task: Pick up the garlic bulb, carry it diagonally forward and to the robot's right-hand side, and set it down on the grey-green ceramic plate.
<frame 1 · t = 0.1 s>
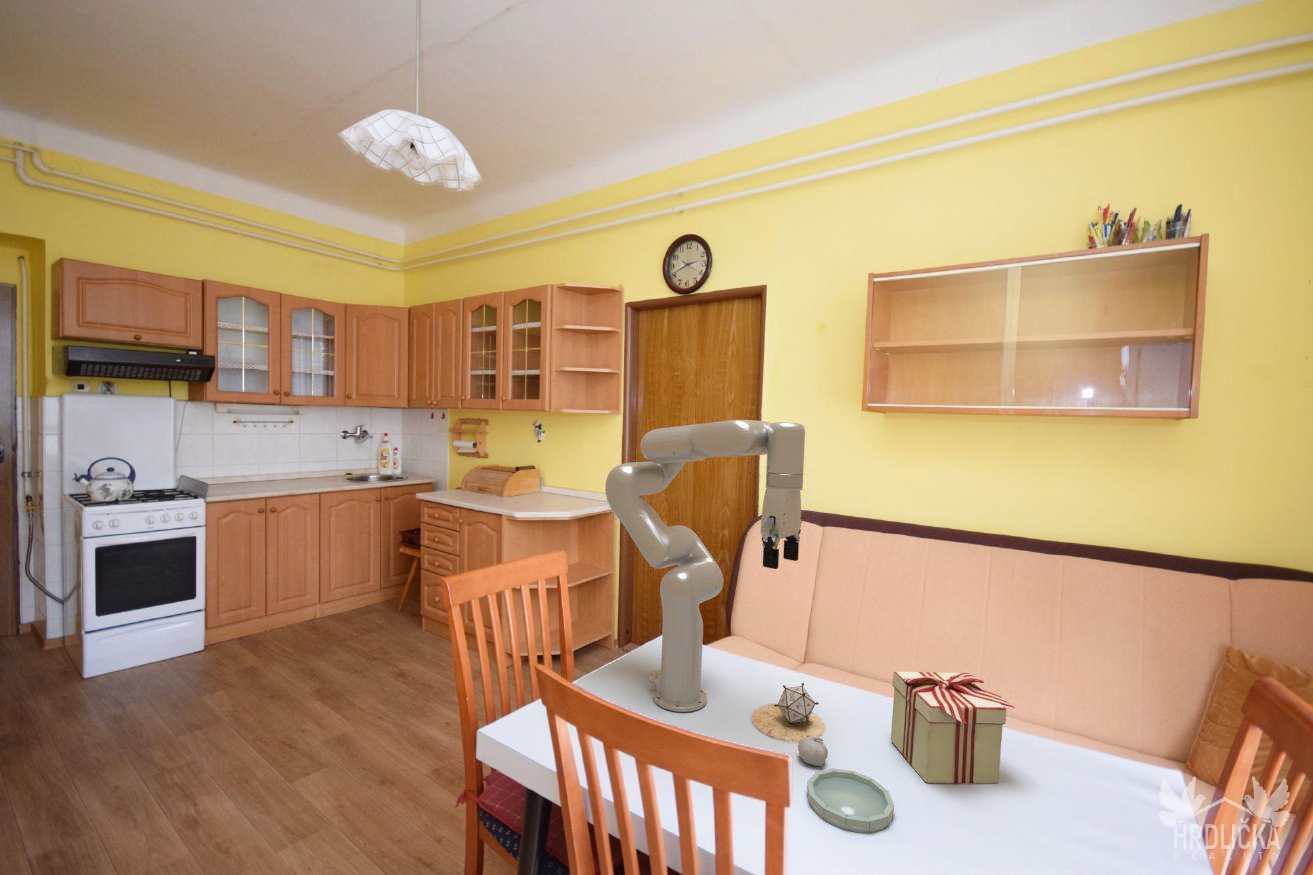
hand: (780, 563, 120), 37 cm above the table, tool pointing down, fingers open, 9 cm apart
game die: (795, 723, 128), on the table
garlic: (812, 762, 113), on the table
gift box: (949, 766, 113), on the table
plate: (849, 804, 100), on the table
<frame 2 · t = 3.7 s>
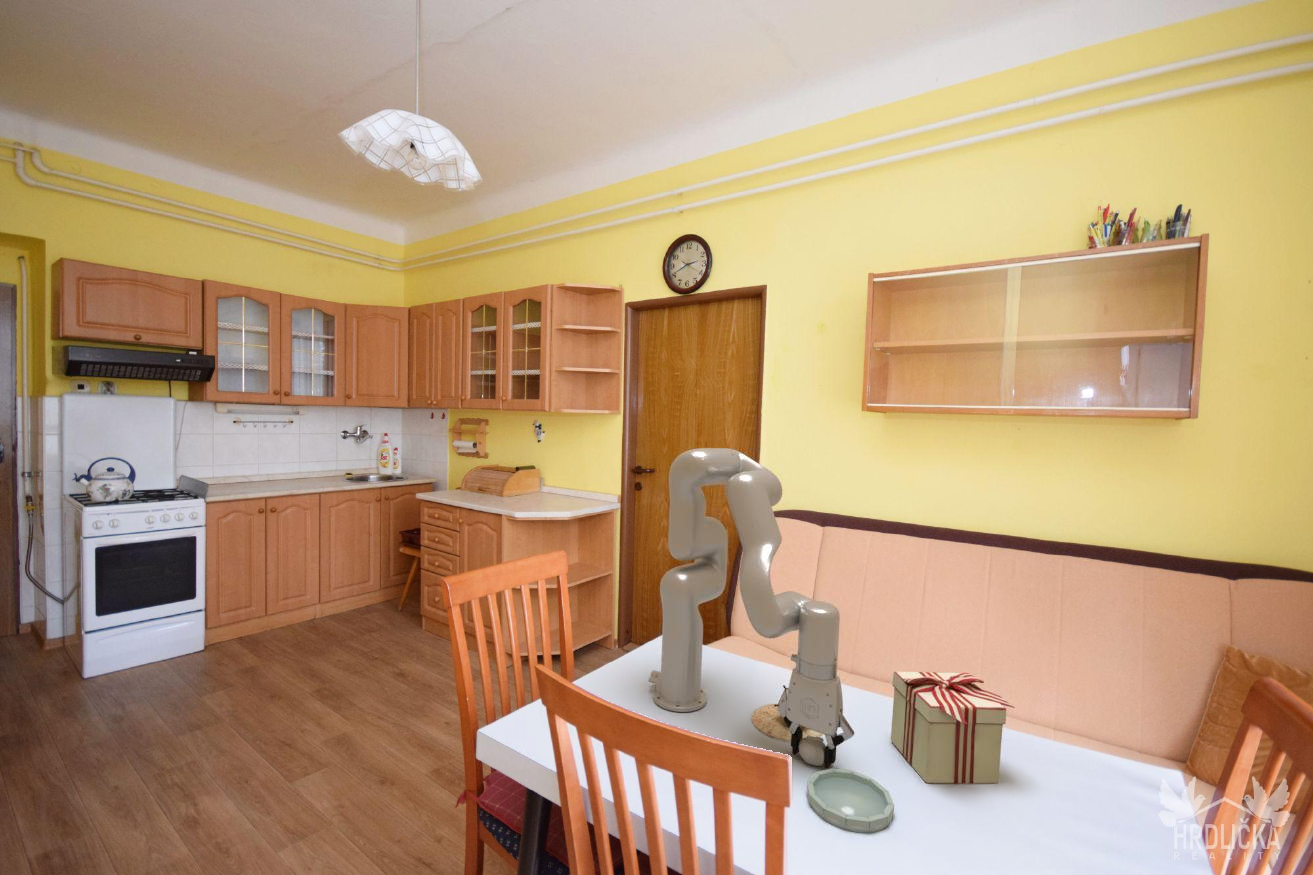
hand: (812, 757, 113), 1 cm above the table, tool pointing down, fingers closed on garlic, 5 cm apart
garlic: (812, 762, 113), on the table, touching gripper
everything else where it was.
when the fingers open (3 cm above the table, at t = 7.9 s): garlic drops 1 cm, resting on plate.
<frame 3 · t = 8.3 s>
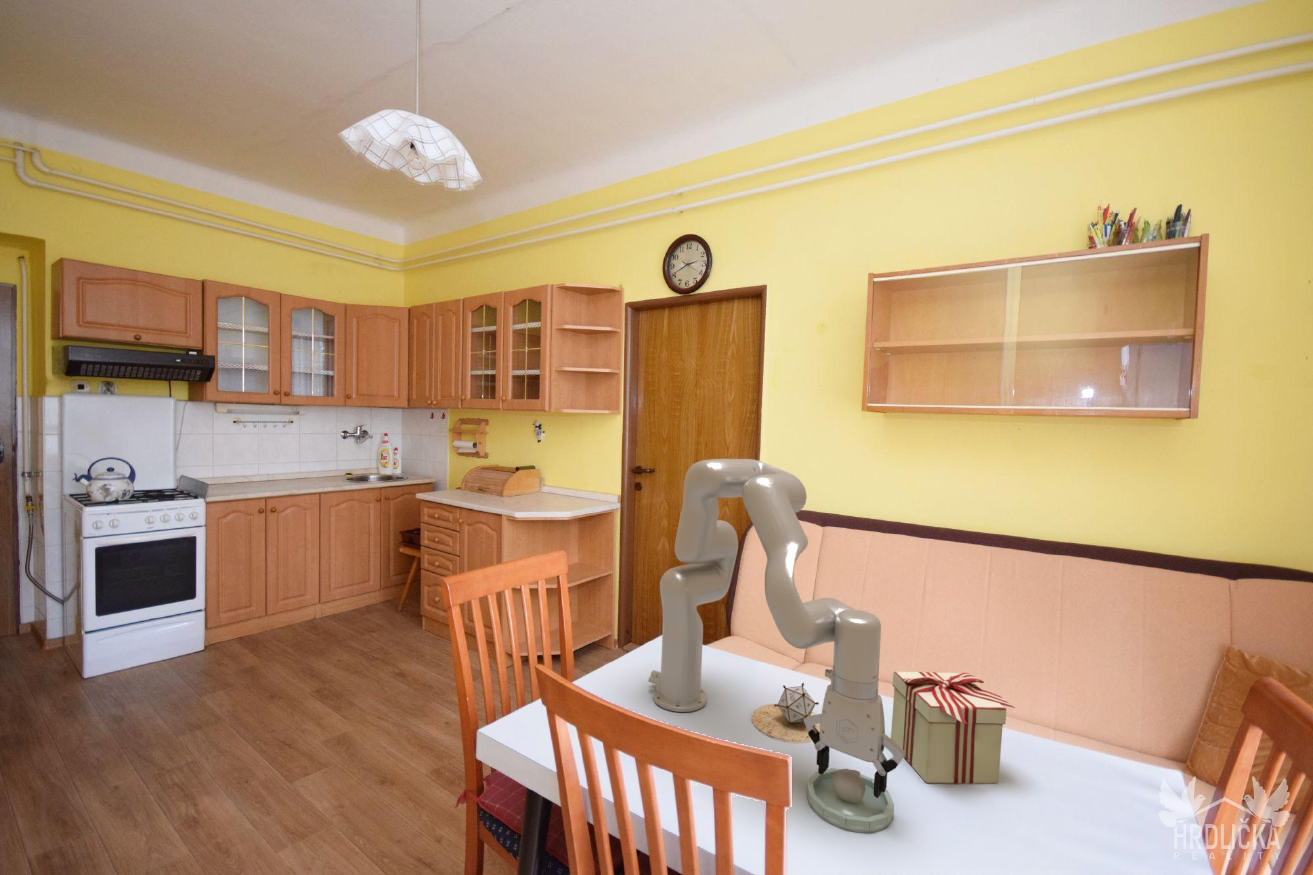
hand: (850, 781, 100), 4 cm above the table, tool pointing down, fingers open, 9 cm apart
garlic: (848, 799, 101), point 1 cm above the table, touching plate
everything else where it was.
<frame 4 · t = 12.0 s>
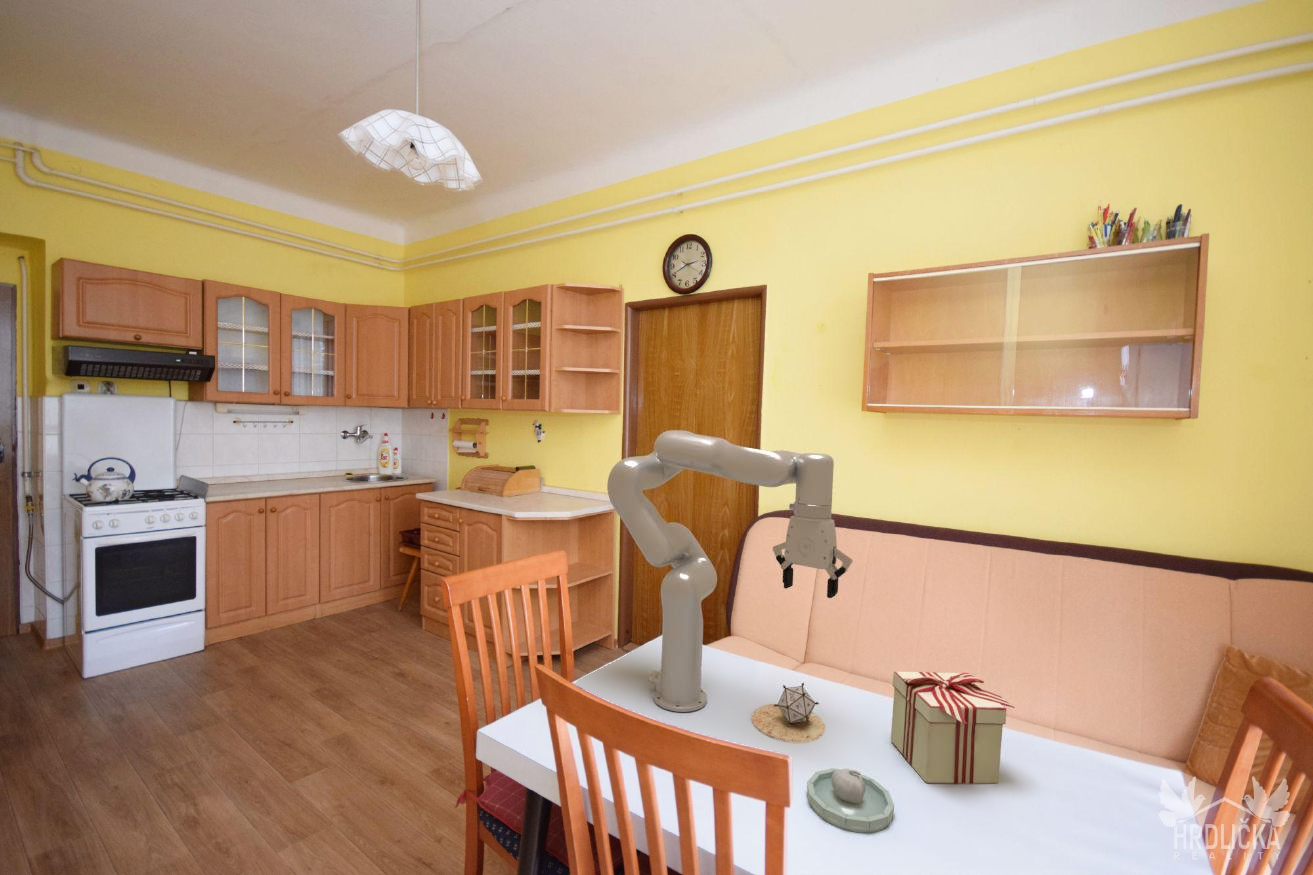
hand: (809, 591, 123), 30 cm above the table, tool pointing down, fingers open, 9 cm apart
nothing on the table moved.
at the end: garlic 0.2 cm from the plate (horizontally); garlic point 0.8 cm above the table; the gripper is holding nothing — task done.
